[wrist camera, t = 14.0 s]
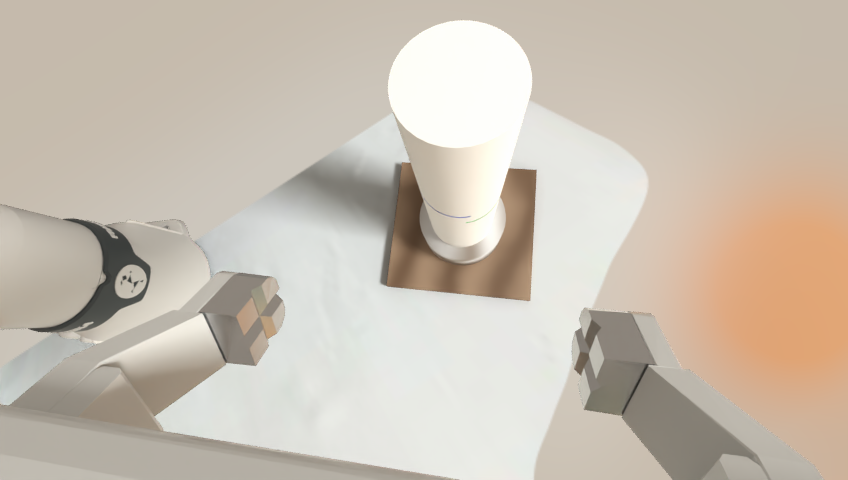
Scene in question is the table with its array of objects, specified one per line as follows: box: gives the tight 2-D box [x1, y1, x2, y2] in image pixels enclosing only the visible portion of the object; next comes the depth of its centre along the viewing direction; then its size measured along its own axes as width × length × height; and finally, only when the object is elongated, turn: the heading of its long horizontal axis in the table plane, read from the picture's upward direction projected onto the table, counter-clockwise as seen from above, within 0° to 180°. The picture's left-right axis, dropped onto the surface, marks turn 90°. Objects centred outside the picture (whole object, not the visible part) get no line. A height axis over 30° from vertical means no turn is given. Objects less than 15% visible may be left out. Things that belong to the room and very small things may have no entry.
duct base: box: [387, 162, 537, 301], centre depth 45 cm, size 18×17×6 cm
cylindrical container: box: [388, 20, 532, 247], centre depth 30 cm, size 7×7×25 cm
